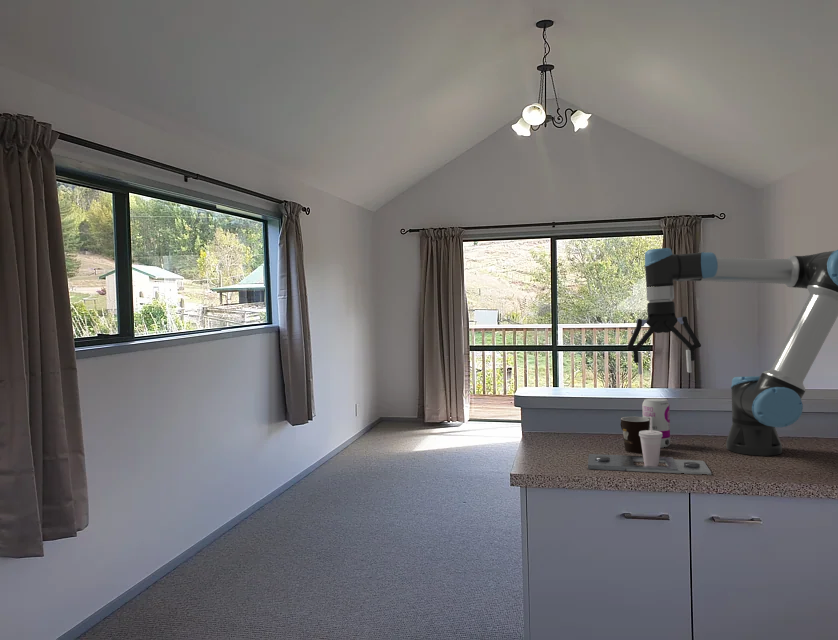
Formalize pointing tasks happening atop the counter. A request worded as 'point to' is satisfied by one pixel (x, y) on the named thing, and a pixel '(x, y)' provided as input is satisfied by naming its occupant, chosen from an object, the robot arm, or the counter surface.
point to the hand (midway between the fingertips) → (664, 373)
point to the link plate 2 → (681, 467)
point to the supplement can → (658, 417)
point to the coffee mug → (633, 432)
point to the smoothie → (650, 445)
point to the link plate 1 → (626, 463)
